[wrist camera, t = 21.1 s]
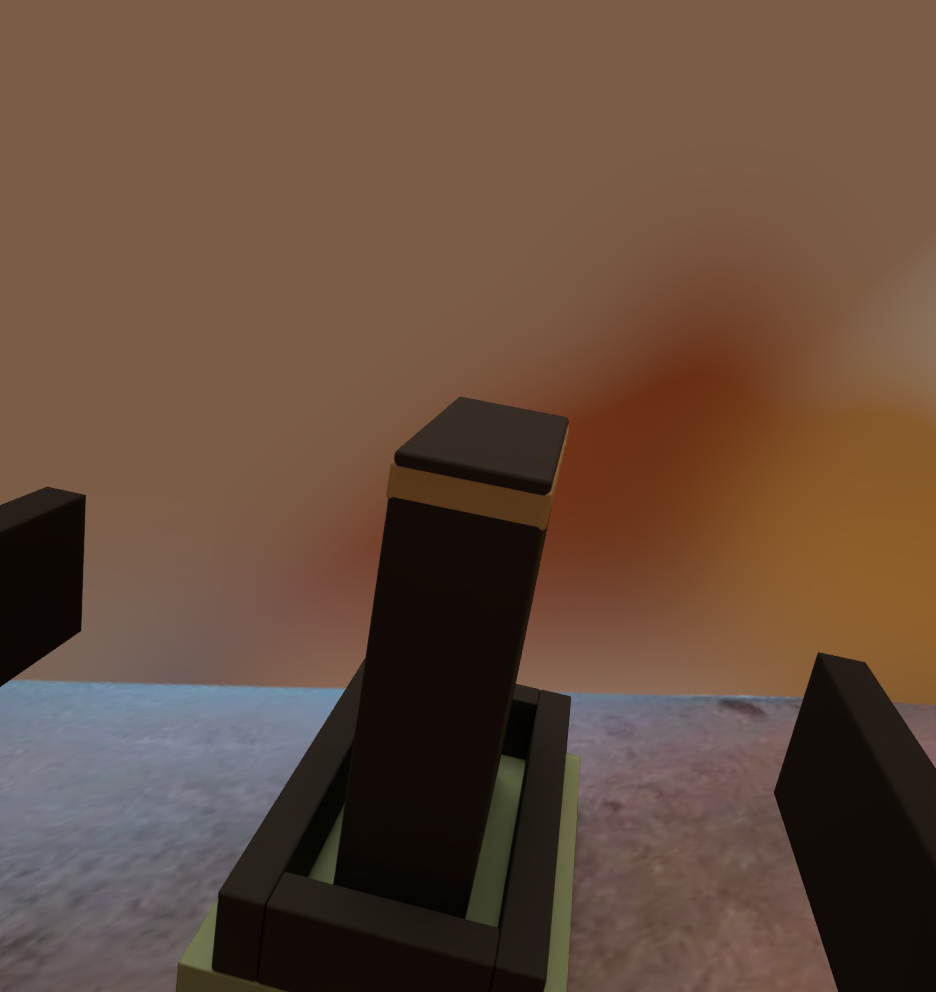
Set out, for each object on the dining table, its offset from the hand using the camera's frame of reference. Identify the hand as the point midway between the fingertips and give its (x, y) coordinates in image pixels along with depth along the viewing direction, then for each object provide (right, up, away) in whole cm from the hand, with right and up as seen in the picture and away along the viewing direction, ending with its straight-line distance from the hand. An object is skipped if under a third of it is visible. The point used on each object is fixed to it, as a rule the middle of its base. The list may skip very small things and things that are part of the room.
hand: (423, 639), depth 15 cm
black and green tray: (-1, -8, +8) cm, 11 cm away
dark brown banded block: (0, -6, +7) cm, 10 cm away
